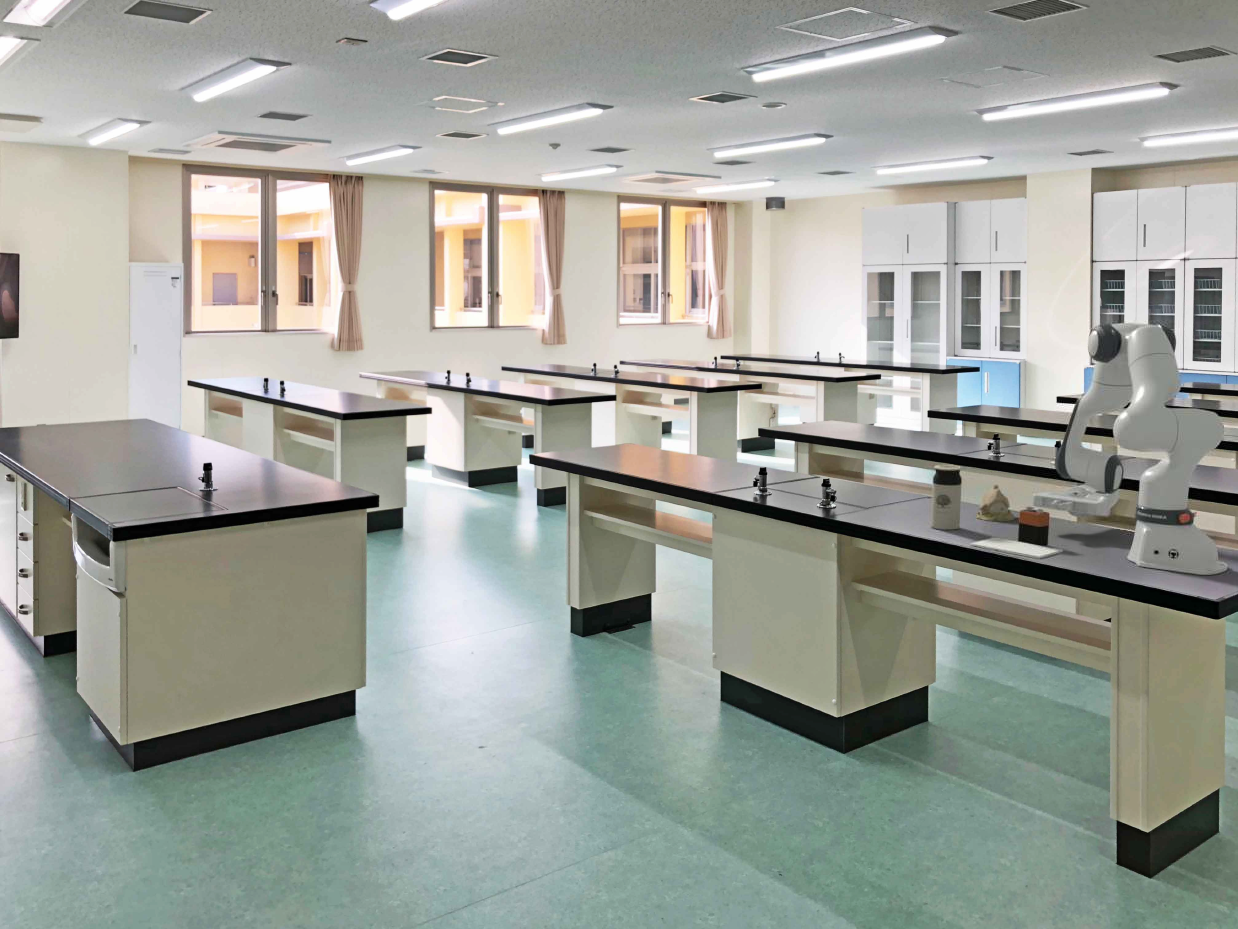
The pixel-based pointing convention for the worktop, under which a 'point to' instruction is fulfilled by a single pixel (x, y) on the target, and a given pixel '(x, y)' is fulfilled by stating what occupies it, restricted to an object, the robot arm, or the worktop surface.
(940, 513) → the travel mug
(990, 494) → the ceramic model
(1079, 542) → the worktop surface
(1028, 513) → the battery
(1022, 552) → the bench mat
